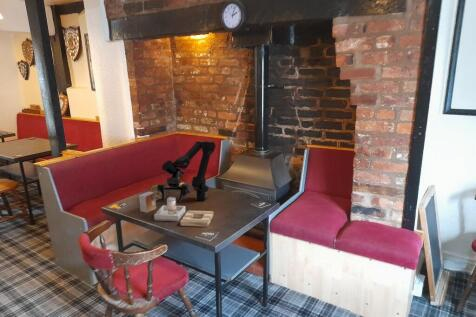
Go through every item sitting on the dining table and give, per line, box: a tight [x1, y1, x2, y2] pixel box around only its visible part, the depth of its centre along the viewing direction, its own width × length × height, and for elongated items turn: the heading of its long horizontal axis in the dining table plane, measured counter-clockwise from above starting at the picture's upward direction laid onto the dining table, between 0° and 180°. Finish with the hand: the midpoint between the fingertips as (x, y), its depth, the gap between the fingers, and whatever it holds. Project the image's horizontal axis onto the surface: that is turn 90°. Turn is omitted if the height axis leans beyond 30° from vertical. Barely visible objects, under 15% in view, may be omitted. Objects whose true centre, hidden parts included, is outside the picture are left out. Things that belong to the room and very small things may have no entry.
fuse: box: [166, 196, 177, 215], centre depth 196 cm, size 5×5×10 cm
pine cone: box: [148, 184, 162, 202], centre depth 221 cm, size 22×10×10 cm, turn 151°
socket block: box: [179, 210, 214, 228], centre depth 192 cm, size 15×15×2 cm
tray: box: [153, 204, 187, 222], centre depth 198 cm, size 14×14×4 cm
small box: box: [138, 190, 157, 214], centre depth 207 cm, size 8×6×10 cm
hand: (171, 202), depth 195 cm, fingers open, 9 cm apart
